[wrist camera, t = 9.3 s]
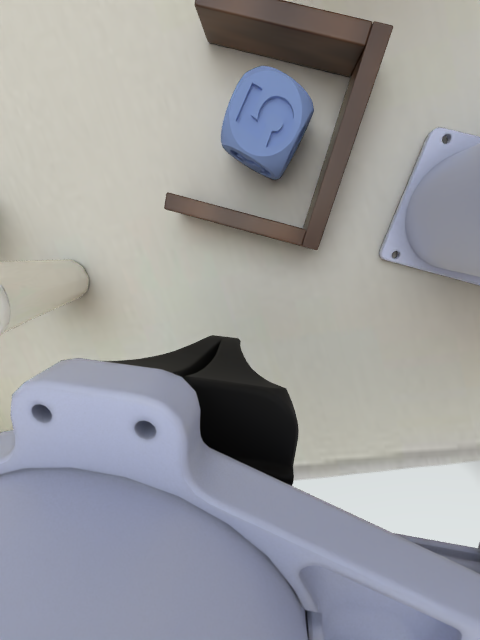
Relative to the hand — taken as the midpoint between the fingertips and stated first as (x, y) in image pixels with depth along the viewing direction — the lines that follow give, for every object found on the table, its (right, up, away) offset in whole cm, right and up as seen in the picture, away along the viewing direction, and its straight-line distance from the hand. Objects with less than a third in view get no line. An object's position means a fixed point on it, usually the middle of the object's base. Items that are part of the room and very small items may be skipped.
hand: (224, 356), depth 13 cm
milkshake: (-14, +5, +10) cm, 18 cm away
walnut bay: (+2, +13, +5) cm, 15 cm away
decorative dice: (+3, +14, +5) cm, 15 cm away
